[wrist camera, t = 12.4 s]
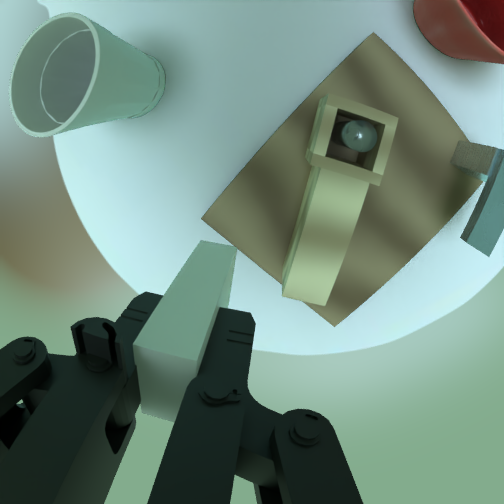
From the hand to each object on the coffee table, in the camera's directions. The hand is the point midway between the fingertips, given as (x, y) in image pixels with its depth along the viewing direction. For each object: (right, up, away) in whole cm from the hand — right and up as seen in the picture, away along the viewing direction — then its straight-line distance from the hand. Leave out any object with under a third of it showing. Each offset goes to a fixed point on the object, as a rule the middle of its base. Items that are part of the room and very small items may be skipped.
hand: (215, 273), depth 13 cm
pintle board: (+11, +7, +12) cm, 18 cm away
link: (+8, +6, +12) cm, 15 cm away
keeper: (+20, +7, +10) cm, 24 cm away
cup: (-9, +16, +11) cm, 21 cm away
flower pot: (+20, +22, +5) cm, 30 cm away
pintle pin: (+9, +11, +11) cm, 18 cm away
